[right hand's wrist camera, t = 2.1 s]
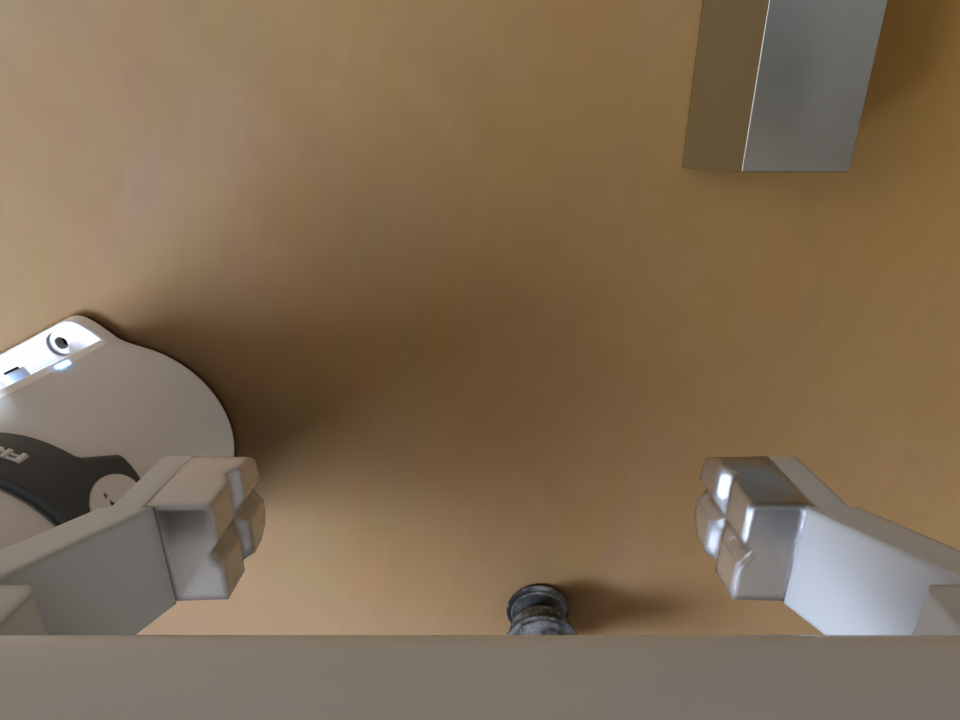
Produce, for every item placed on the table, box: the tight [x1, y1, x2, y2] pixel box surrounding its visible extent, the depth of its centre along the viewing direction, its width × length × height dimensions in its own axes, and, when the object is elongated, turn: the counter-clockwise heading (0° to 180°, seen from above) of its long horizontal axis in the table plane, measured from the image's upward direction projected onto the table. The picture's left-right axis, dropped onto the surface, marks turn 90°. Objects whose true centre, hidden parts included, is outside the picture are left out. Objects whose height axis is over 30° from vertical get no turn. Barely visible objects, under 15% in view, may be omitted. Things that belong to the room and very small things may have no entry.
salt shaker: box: [507, 585, 578, 635], centre depth 41 cm, size 6×6×12 cm
